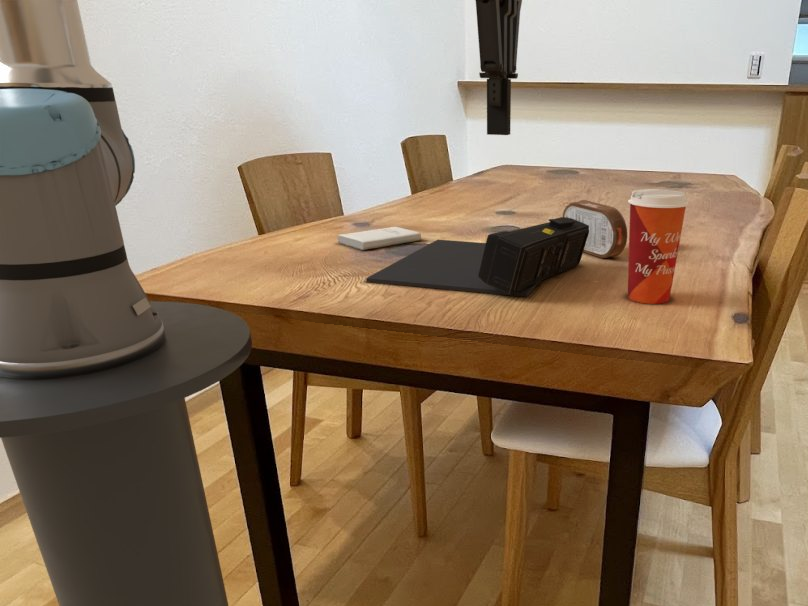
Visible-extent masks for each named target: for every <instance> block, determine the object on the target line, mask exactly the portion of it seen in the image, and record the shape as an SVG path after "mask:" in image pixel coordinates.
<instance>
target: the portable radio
mask: <svg viewBox="0 0 808 606" xmlns="http://www.w3.org/2000/svg"><path fill="white" fill-rule="evenodd" d="M588 234H589V225H587V224H584V223H582V222H579V221H577V220H574V219H572V218H567V217H563V216H561V217H556V218H549V219H548V222H544V223H540V224H536V225H531V226H527V227H523V228H519V229H515V230H510V231H509V230H508V231H507V230H504V231H496V232H493V233H489V234H488V235H487V237H486V241H485V243H486V245H485V249H484V253H483V257H482V262H481V266H480V270H479V274H478V276H479V278H480V279H481V280H482V281H483V282H484V283H486V284H487V285H489V286H491V287H494V288H496V289H498V290H500V291H502V292H505V293H507V294H513V293H516V292H518V291H520V290H522V289H524V288H526V287H528V286H530V285H532V284H534V283H536V282H539V281H541V282H542V281H543V280H545V279H548V278H551V277H553V276H556V275H558V274H560V273H563V272H566V271H567V270H570V269H573V268H575V267H577V266H578V265H580V263H581V259H582V256H583V254H584V252H583V250H584V247H585V244H586V241H587V238H588Z"/></svg>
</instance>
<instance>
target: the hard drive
mask: <svg viewBox="0 0 808 606" xmlns="http://www.w3.org/2000/svg"><path fill="white" fill-rule="evenodd" d="M421 240H422V233H420V232H419V231H416V230H411V229H407V228H404V227H399V226H391V227H384V228H376V229H369V230H363V231H355V232H349V233H343V234H342V233H341V234H338V235H337V242H338V244H340V245H343V246H347V247H350V248H354V249H356V250H360V251H365V250H373V249H377V248H383V247H391V246H396V245H401V244H406V243H407V244H408V243H413V242H418V241H421Z"/></svg>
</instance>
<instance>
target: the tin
mask: <svg viewBox="0 0 808 606" xmlns="http://www.w3.org/2000/svg"><path fill="white" fill-rule="evenodd" d="M562 217H567V218H572V219H574V220H577V221H579V222H582V223H584V224H587V225H589V234H588V238H587V241H586V244H585V247H584V250H583V253H586V254H588V255H591V256H594V257H597V258H601V259H607V258H611V257H612V258H614V257H618V256H620V255H621V254H622V253H623V251H624V250H625V248H626V246H627V242H628V227H627V224H626V220H625V218H624V216H623V215H622V213H621V212H620V211H619V210H618V209H617V208H615V207H614V206H611V205H607V204H603V203H599V202H594V201H591V200H588V199H581V200H578V201H574V202H570V203H568V204H567V205H566V206H565V208H564V209H563V212H562Z"/></svg>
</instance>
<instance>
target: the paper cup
mask: <svg viewBox="0 0 808 606" xmlns="http://www.w3.org/2000/svg"><path fill="white" fill-rule="evenodd" d="M630 195H631V196H630V198H629V199H628V201H627V203H629V230H628V231H629V234H628V261H627V263H628V265H627V266H628V268H627V298H628V299H629V300H630V301H633V302H636V303H639V304H640V303H641V304H648V305H658V304H664V303H667V302H668V301H669V300H670V296H671V293H672V286H673V282H674V277H675V270H676V264H677V258H678V253H679V248H680V242H681V236H682V231H683V225H684V219H685V214H686V209H687V207H688V206H689V205H690V204H689V201H688V200H687V196H686V193H685V192H684V191H680V190H673V189H665V188H663V189H662V188H640V189H635V190H632V192H631V194H630Z"/></svg>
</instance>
